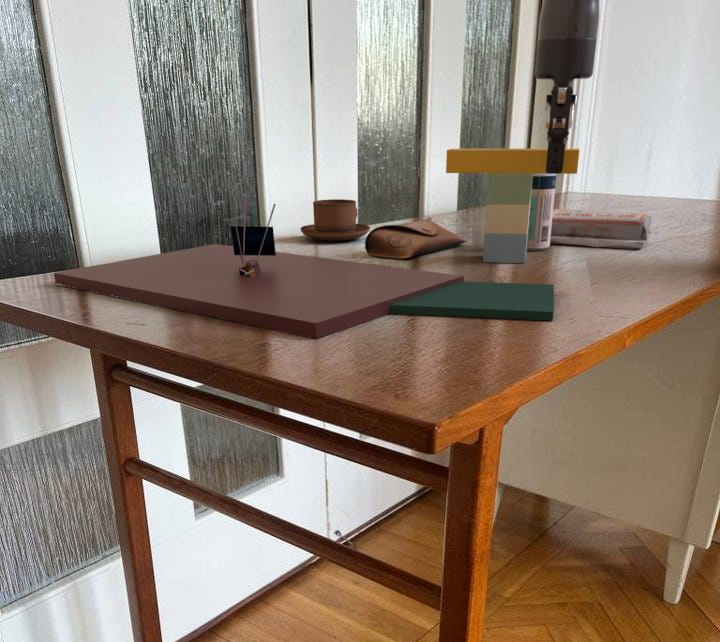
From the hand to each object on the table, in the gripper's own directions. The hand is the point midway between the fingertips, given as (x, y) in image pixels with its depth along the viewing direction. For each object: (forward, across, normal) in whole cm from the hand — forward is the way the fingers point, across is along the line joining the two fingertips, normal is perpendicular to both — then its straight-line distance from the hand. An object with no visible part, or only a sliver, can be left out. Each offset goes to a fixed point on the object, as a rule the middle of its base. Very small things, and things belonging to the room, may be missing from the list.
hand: (553, 171), depth 105 cm
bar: (0, 0, +6) cm, 6 cm away
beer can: (+12, +10, +2) cm, 16 cm away
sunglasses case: (+12, +6, +20) cm, 24 cm away
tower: (+12, 0, +6) cm, 14 cm away
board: (+12, -25, +36) cm, 46 cm away
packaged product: (+12, +18, -7) cm, 23 cm away
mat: (+12, -29, +10) cm, 33 cm away
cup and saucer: (+13, +15, +36) cm, 41 cm away
